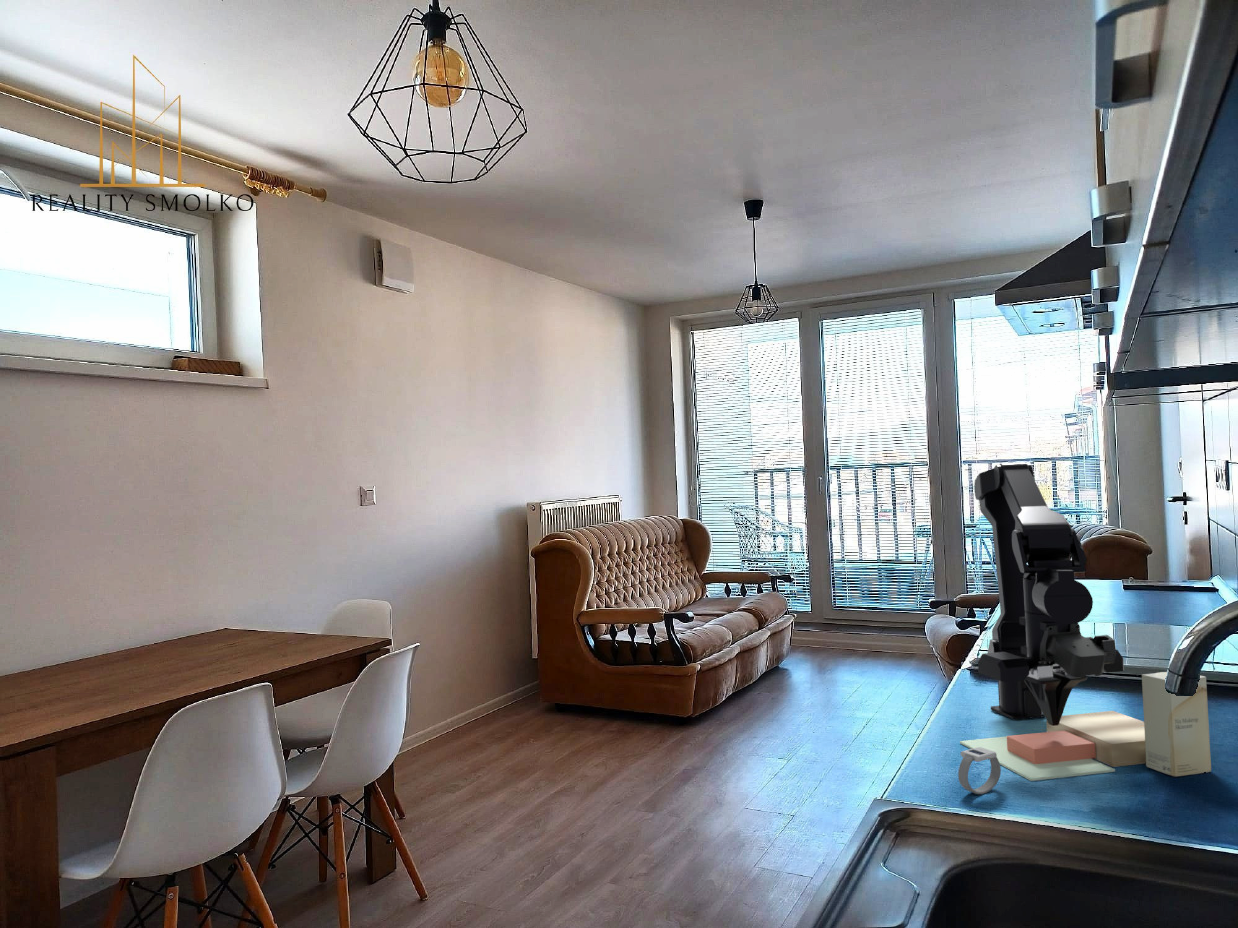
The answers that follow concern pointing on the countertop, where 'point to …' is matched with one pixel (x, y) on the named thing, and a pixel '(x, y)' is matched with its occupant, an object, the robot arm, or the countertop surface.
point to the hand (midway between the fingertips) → (1053, 724)
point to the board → (1108, 736)
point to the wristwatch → (977, 756)
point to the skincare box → (1175, 728)
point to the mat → (1037, 770)
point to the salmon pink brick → (1051, 747)
